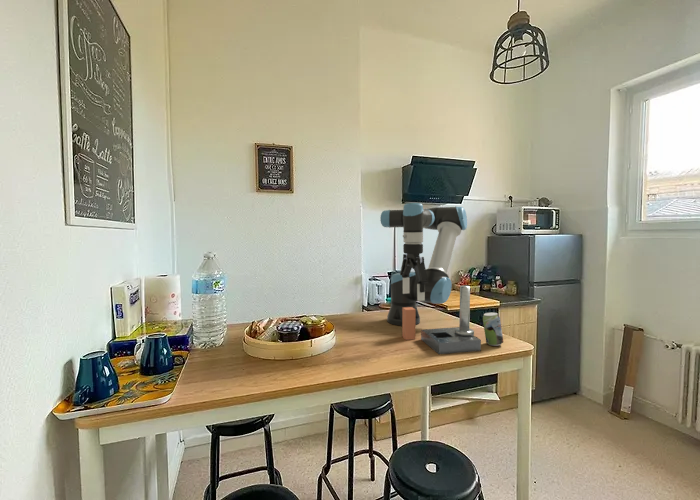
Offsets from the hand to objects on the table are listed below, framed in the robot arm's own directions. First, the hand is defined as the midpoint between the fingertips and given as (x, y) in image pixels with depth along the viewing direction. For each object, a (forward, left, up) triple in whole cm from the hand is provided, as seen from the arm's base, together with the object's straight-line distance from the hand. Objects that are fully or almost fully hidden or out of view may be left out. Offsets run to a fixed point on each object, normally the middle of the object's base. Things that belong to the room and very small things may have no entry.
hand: (413, 296), depth 137 cm
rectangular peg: (-1, -1, -17) cm, 17 cm away
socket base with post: (+10, +11, -17) cm, 22 cm away
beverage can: (+13, +27, -17) cm, 34 cm away
